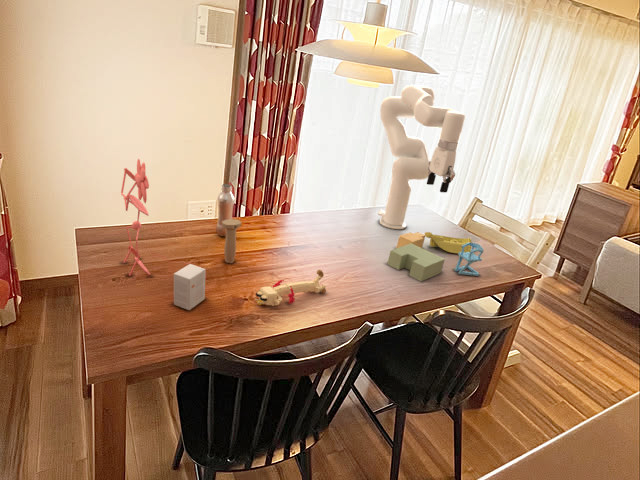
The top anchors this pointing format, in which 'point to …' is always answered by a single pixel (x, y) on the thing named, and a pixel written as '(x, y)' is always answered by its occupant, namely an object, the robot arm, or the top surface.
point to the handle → (230, 239)
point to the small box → (189, 286)
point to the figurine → (137, 206)
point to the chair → (469, 259)
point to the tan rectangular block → (411, 239)
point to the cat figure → (288, 290)
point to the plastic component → (449, 243)
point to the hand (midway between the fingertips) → (436, 188)
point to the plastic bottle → (224, 207)
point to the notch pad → (416, 261)
